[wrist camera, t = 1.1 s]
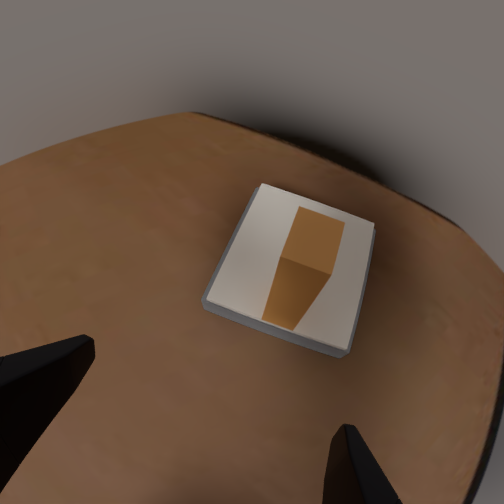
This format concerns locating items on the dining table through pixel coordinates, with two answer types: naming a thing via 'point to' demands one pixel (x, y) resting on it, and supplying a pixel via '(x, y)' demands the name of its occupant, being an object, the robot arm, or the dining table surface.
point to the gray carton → (269, 328)
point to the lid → (296, 267)
